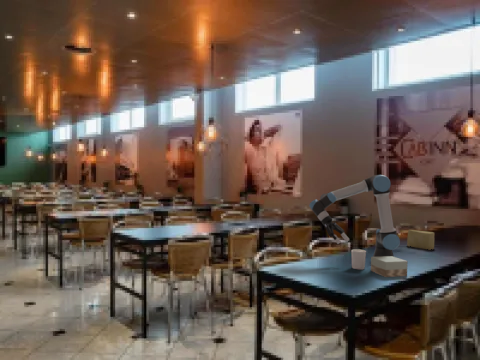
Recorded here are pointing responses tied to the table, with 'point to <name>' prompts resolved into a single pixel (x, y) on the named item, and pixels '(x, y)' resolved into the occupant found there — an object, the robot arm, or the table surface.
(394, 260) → the top block
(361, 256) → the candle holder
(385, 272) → the bottom block
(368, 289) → the table surface
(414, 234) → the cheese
